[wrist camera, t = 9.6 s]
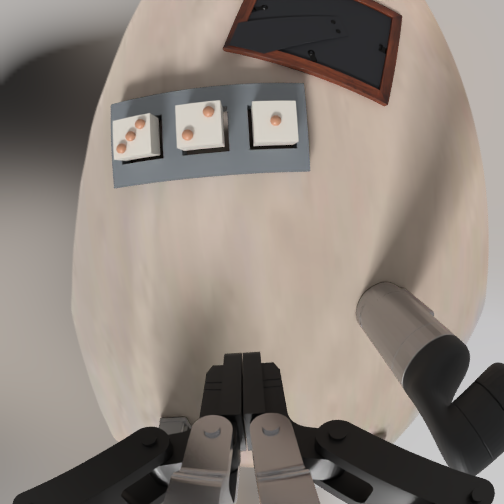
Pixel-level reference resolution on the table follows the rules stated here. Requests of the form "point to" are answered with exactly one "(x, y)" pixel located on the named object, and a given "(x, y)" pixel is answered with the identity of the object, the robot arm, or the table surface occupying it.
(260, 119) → the tile one
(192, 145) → the tile two
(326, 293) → the table surface
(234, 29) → the picture frame
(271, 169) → the board
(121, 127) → the tile three
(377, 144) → the table surface
